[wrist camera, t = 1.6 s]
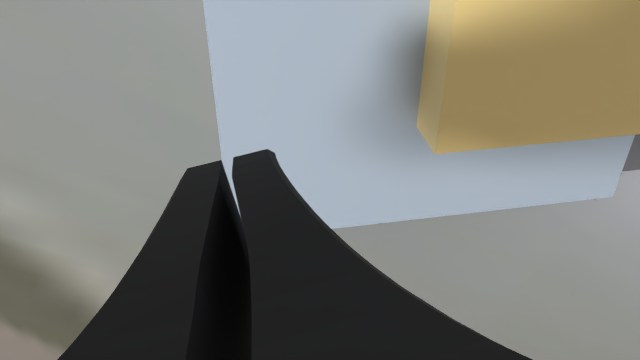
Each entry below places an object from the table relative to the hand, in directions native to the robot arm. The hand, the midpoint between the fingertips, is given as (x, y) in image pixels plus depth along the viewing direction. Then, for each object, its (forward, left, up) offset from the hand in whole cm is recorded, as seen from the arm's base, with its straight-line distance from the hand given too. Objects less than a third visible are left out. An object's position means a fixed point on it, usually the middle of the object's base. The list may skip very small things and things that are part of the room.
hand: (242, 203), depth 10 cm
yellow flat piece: (-10, 0, -7) cm, 12 cm away
